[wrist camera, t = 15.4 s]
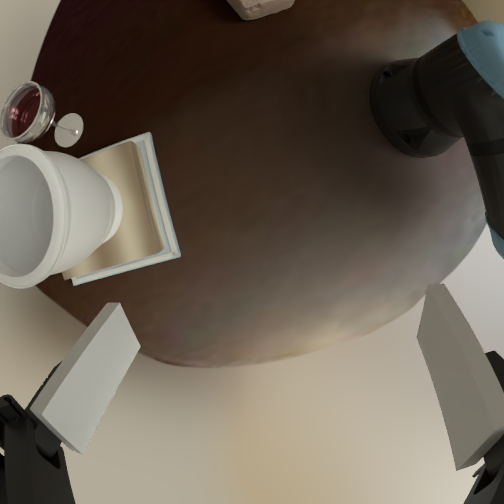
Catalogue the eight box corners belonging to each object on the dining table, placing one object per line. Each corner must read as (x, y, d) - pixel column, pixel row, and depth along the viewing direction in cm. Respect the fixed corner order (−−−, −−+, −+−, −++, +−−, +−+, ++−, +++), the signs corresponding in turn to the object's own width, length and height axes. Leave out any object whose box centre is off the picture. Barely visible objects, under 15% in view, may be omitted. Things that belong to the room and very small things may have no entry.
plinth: (140, 146, 33) (130, 140, 29) (165, 248, 35) (157, 253, 32) (55, 179, 33) (40, 178, 29) (78, 272, 35) (64, 280, 31)
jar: (148, 188, 30) (89, 178, 16) (110, 270, 31) (40, 316, 17) (77, 149, 29) (-5, 124, 14) (43, 228, 30) (-41, 245, 15)
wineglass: (78, 98, 32) (34, 69, 20) (96, 133, 33) (50, 110, 21) (44, 127, 32) (-7, 110, 20) (59, 163, 33) (7, 153, 22)
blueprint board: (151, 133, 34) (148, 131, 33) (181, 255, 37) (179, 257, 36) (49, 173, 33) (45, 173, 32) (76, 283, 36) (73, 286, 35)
